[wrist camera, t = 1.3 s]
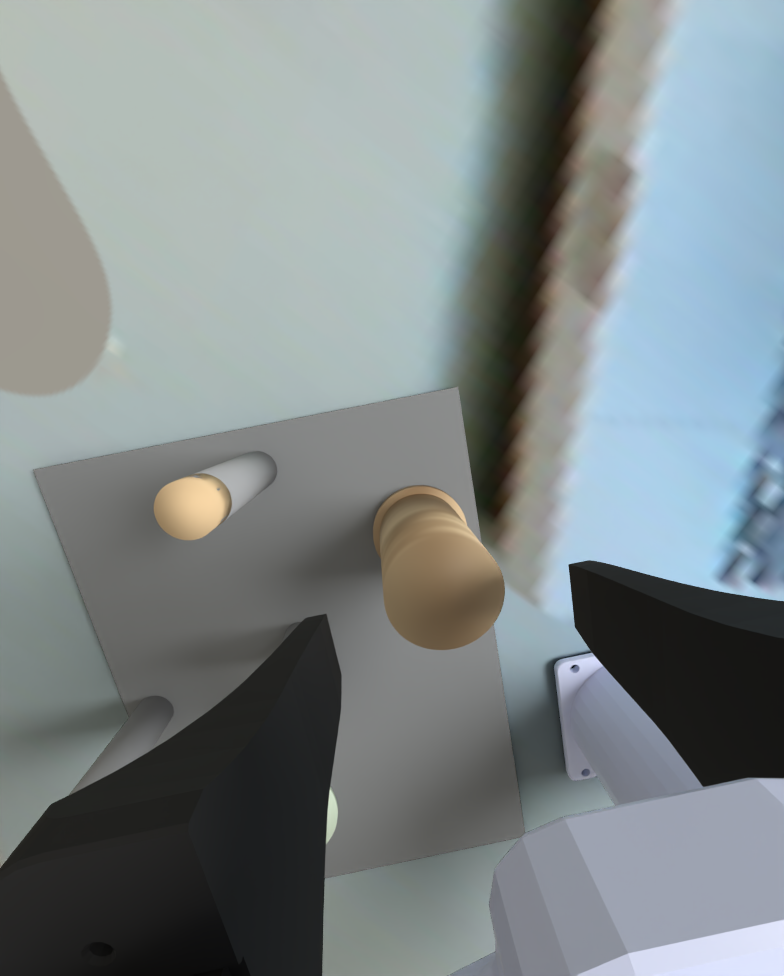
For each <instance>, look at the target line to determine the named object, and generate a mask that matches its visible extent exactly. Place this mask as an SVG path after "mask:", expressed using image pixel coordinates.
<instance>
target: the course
mask: <svg viewBox="0 0 784 976" xmlns="http://www.w3.org/2000/svg"><path fill="white" fill-rule="evenodd" d="M33 471H34V474H35V477H36V479H37V482H38V484H39V487H40V489H41V492H42V495H43V497H44V500H45V502H46V505H47V508H48V510H49V513H50V515H51V518H52V520H53V523H54V526H55V528H56V531H57V533H58V536H59V538H60V541H61V544H62V546H63V549H64V551H65V554H66V557H67V559H68V562H69V564H70V567H71V569H72V572H73V575H74V577H75V580H76V582H77V585H78V587H79V590H80V593H81V595H82V598H83V600H84V603H85V606H86V608H87V611H88V613H89V616H90V618H91V621H92V624H93V626H94V629H95V631H96V634H97V636H98V639H99V642H100V644H101V647H102V649H103V652H104V654H105V657H106V660H107V662H108V665H109V667H110V670H111V673H112V675H113V678H114V680H115V683H116V685H117V688H118V691H119V693H120V696H121V698H122V701H123V703H124V706H125V709H126V711H127V714H128V716H129V718H128V720H127V721H126V722H125V723H124V725H123V726H122V727H121V729H120V730H119V731H118V732H117V734H116V735H115V736H114V738H113V739H112V740H111V742H110V743H109V744H108V745H107V747H106V748H105V749H104V751H103V752H102V753H101V754H100V756H99V757H98V758H97V760H96V761H95V762H94V763H93V765H92V766H91V767H90V769H89V770H88V771H87V772H86V774H85V775H84V776H83V778H82V779H81V780H80V782H79V783H78V784H77V785H76V787H75V788H74V789H73V791H72V792H71V793H70V794H69V795H71V794H73V793H75V792H76V791H78V790H80V789H82V788H84V787H86V786H88V785H90V784H92V783H94V782H96V781H98V780H100V779H101V778H103V777H105V776H107V775H109V774H111V773H113V772H115V771H116V770H118V769H120V768H122V767H124V766H125V765H127V764H129V763H130V762H132V761H134V760H136V759H137V758H139V757H141V756H142V755H144V754H146V753H147V752H149V751H151V750H152V749H154V748H155V747H157V746H159V745H160V744H162V743H163V742H165V741H166V740H168V739H170V738H171V737H173V736H174V735H175V734H177V733H178V732H180V731H181V730H182V729H184V728H185V727H187V726H188V725H190V724H191V723H192V722H194V721H195V720H197V719H198V718H199V717H201V716H202V715H204V714H205V713H206V712H208V711H209V710H210V709H212V708H213V707H214V706H215V705H217V704H218V703H219V702H220V701H222V700H223V699H224V698H225V697H227V696H228V695H229V694H230V693H231V692H232V691H234V690H235V689H236V688H237V687H238V686H239V685H240V684H242V683H243V682H244V681H245V680H246V679H247V678H248V677H249V676H250V675H251V674H252V673H253V672H254V671H255V670H256V669H257V668H258V667H259V666H260V665H261V664H262V663H263V662H264V661H265V660H266V659H267V658H268V657H269V656H270V655H271V654H272V653H273V652H274V651H275V650H276V649H277V648H278V647H279V646H280V644H281V643H282V642H283V641H284V640H285V639H286V638H287V637H288V636H289V635H290V634H291V632H292V631H293V630H294V629H295V628H296V627H297V626H298V625H299V624H300V623H301V622H302V621H303V620H304V619H305V618H307V617H312V616H317V615H322V614H327V618H328V622H329V626H330V630H331V634H332V638H333V642H334V646H335V650H336V654H337V658H338V662H339V666H340V670H341V674H342V695H341V714H340V721H339V728H338V736H337V743H336V750H335V757H334V764H333V771H332V778H331V785H330V786H331V788H332V790H333V792H334V794H335V796H336V799H337V804H338V818H337V825H336V828H335V831H334V833H333V835H332V837H331V838H330V840H329V841H328V843H327V844H326V853H325V878H329V877H334V876H339V875H344V874H348V873H353V872H358V871H363V870H367V869H372V868H377V867H382V866H386V865H391V864H396V863H401V862H406V861H410V860H415V859H420V858H425V857H429V856H434V855H439V854H444V853H448V852H453V851H458V850H463V849H467V848H472V847H477V846H482V845H487V844H491V843H496V842H501V841H506V840H510V839H515V838H520V837H522V835H523V834H524V833H525V829H524V822H523V815H522V809H521V802H520V795H519V789H518V782H517V775H516V769H515V762H514V756H513V749H512V742H511V736H510V729H509V722H508V716H507V709H506V702H505V696H504V689H503V683H502V676H501V669H500V663H499V656H498V649H497V643H496V636H495V629H494V624H493V625H492V627H491V628H490V629H489V630H488V631H487V632H486V633H485V634H484V635H482V636H481V637H480V638H478V639H477V640H475V641H474V642H472V643H470V644H468V645H465V646H463V647H459V648H456V649H450V650H431V649H426V648H423V647H420V646H417V645H415V644H413V643H411V642H409V641H408V640H406V639H405V638H403V637H402V636H401V635H400V634H399V633H398V632H397V631H396V630H395V628H394V627H393V626H392V624H391V622H390V621H389V619H388V616H387V614H386V610H385V606H384V598H383V583H382V568H381V558H380V557H379V555H378V553H377V551H376V548H375V545H374V539H373V525H374V520H375V516H376V514H377V511H378V510H379V508H380V506H381V505H382V503H383V502H384V501H385V500H386V499H387V498H388V497H389V496H390V495H392V494H393V493H394V492H396V491H398V490H400V489H402V488H405V487H409V486H414V485H427V486H432V487H435V488H438V489H440V490H442V491H444V492H446V493H447V494H448V495H449V496H451V497H452V498H453V499H454V500H455V502H456V503H457V504H458V505H459V507H460V508H461V510H462V511H463V513H464V516H465V519H466V523H467V526H468V527H469V529H470V530H471V531H472V532H473V534H474V535H475V536H476V537H477V539H478V540H479V541H480V542H481V537H480V530H479V523H478V517H477V510H476V503H475V497H474V490H473V483H472V477H471V470H470V464H469V457H468V450H467V444H466V437H465V430H464V424H463V417H462V410H461V404H460V397H459V391H458V387H455V388H450V389H445V390H440V391H435V392H430V393H424V394H419V395H414V396H409V397H404V398H399V399H394V400H389V401H383V402H378V403H373V404H368V405H363V406H358V407H353V408H347V409H342V410H337V411H332V412H327V413H322V414H317V415H312V416H306V417H301V418H296V419H291V420H286V421H281V422H276V423H271V424H265V425H260V426H255V427H250V428H245V429H240V430H235V431H230V432H224V433H219V434H214V435H209V436H204V437H199V438H194V439H189V440H183V441H178V442H173V443H168V444H163V445H158V446H153V447H148V448H142V449H137V450H132V451H127V452H122V453H117V454H112V455H107V456H101V457H96V458H91V459H86V460H81V461H76V462H71V463H66V464H60V465H55V466H50V467H45V468H40V469H35V470H33ZM481 544H482V543H481Z"/></svg>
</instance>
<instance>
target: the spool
mask: <svg viewBox="0 0 784 976" xmlns="http://www.w3.org/2000/svg"><path fill="white" fill-rule="evenodd" d="M373 539H374V545H375V548H376V551H377V553H378V555H379V557H380V558H381V568H382V583H383V598H384V606H385V610H386V614H387V616H388V619H389V621H390V622H391V624H392V626H393V627H394V628H395V630H396V631H397V632H398V633H399V634H400V635H401V636H402V637H403V638H405V639H406V640H408V641H409V642H411V643H413V644H415V645H417V646H420V647H423V648H426V649H431V650H450V649H456V648H459V647H463V646H465V645H468V644H470V643H472V642H474V641H475V640H477V639H478V638H480V637H481V636H482V635H484V634H485V633H486V632H487V631H488V630H489V629H490V628H491V627H492V625H493V624H494V622H495V621H496V620H497V618H498V616H499V614H500V612H501V609H502V606H503V602H504V595H505V587H504V580H503V576H502V573H501V570H500V568H499V566H498V564H497V563H496V561H495V560H494V559H493V557H492V556H491V555H490V554H489V552H488V551H487V550H486V549H485V547H484V546H483V545H482V544H481V542H480V541H479V540H478V539H477V537H476V536H475V535H474V534H473V532H472V531H471V530H470V529H469V527H468V526H467V523H466V519H465V516H464V513H463V511H462V510H461V508H460V507H459V505H458V504H457V503H456V502H455V500H454V499H453V498H452V497H451V496H449V495H448V494H447V493H446V492H444V491H442V490H440V489H438V488H435V487H432V486H427V485H414V486H409V487H405V488H402V489H400V490H398V491H396V492H394V493H393V494H392V495H390V496H389V497H388V498H387V499H386V500H385V501H384V502H383V503H382V505H381V506H380V508H379V510H378V511H377V514H376V516H375V520H374V525H373Z"/></svg>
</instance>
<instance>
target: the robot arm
mask: <svg viewBox="0 0 784 976" xmlns="http://www.w3.org/2000/svg"><path fill="white" fill-rule="evenodd" d="M569 572H570V582H571V592H572V602H573V612H574V622H575V628H576V629H577V631H578V632H579V634H580V635H581V637H582V638H583V640H584V641H585V643H586V644H587V646H588V647H589V649H590V650H591V652H592V653H588V654H584V655H579V656H574V657H569V658H564V659H561V660H558V661H557V662H556V664H555V666H554V671H555V680H556V688H557V696H558V705H559V713H560V722H561V730H562V739H563V747H564V756H565V764H566V771H567V774H568V776H569V778H570V779H571V780H574V781H579V780H583V779H588V778H593V777H598V779H599V780H600V782H601V784H602V785H603V787H604V789H605V790H606V792H607V793H608V795H609V797H610V798H611V800H612V802H613V803H614V805H615V806H612V807H607V808H602V809H598V810H593V811H588V812H583V813H579V814H574V815H569V816H564V817H561V818H558V819H556V820H554V821H552V822H549V823H547V824H545V825H542V826H540V827H538V828H536V829H533V830H531V831H529V832H527V833H524V834H523V835H522V837H521V838H520V839H519V840H518V841H517V842H516V843H515V845H514V846H513V847H512V848H511V849H510V850H509V851H508V853H507V854H506V855H505V856H504V857H503V858H502V859H501V861H500V862H499V863H498V865H497V866H496V868H495V870H494V876H493V882H492V888H491V895H490V901H489V908H490V914H491V919H492V924H493V930H494V935H495V952H493V953H491V954H489V955H487V956H485V957H483V958H481V959H480V960H478V961H476V962H474V963H472V964H470V965H468V966H466V967H464V968H462V969H460V970H458V971H456V972H454V973H452V974H450V975H448V976H784V601H776V600H768V599H761V598H754V597H748V596H742V595H736V594H730V593H724V592H719V591H714V590H709V589H704V588H700V587H695V586H691V585H687V584H682V583H678V582H674V581H670V580H666V579H662V578H658V577H655V576H651V575H647V574H643V573H640V572H636V571H632V570H629V569H625V568H621V567H618V566H614V565H610V564H606V563H602V562H597V561H590V560H589V561H584V562H579V563H574V564H569ZM573 665H576V666H575V667H574V668H572V669H571V667H572V666H573ZM341 695H342V674H341V670H340V666H339V662H338V658H337V654H336V650H335V646H334V642H333V638H332V634H331V630H330V626H329V622H328V618H327V614H322V615H317V616H312V617H307V618H305V619H304V620H303V621H302V622H301V623H300V624H299V625H298V626H297V627H296V628H295V629H294V630H293V631H292V632H291V634H290V635H289V636H288V637H287V638H286V639H285V640H284V641H283V642H282V643H281V644H280V646H279V647H278V648H277V649H276V650H275V651H274V652H273V653H272V654H271V655H270V656H269V657H268V658H267V659H266V660H265V661H264V662H263V663H262V664H261V665H260V666H259V667H258V668H257V669H256V670H255V671H254V672H253V673H252V674H251V675H250V676H249V677H248V678H247V679H246V680H245V681H244V682H243V683H242V684H240V685H239V686H238V687H237V688H236V689H235V690H234V691H232V692H231V693H230V694H229V695H228V696H227V697H225V698H224V699H223V700H222V701H220V702H219V703H218V704H217V705H215V706H214V707H213V708H212V709H210V710H209V711H208V712H206V713H205V714H204V715H202V716H201V717H199V718H198V719H197V720H195V721H194V722H192V723H191V724H190V725H188V726H187V727H185V728H184V729H182V730H181V731H180V732H178V733H177V734H175V735H174V736H173V737H171V738H170V739H168V740H166V741H165V742H163V743H162V744H160V745H159V746H157V747H155V748H154V749H152V750H151V751H149V752H147V753H146V754H144V755H142V756H141V757H139V758H137V759H136V760H134V761H132V762H130V763H129V764H127V765H125V766H124V767H122V768H120V769H118V770H116V771H115V772H113V773H111V774H109V775H107V776H105V777H103V778H101V779H100V780H98V781H96V782H94V783H92V784H90V785H88V786H86V787H84V788H82V789H80V790H78V791H76V792H75V793H73V794H71V795H69V796H67V797H65V798H63V799H61V800H59V801H57V802H55V803H53V804H51V805H50V806H49V807H48V809H47V810H46V811H45V812H44V814H43V815H42V816H41V817H40V819H39V820H38V821H37V822H36V824H35V825H34V826H33V827H32V829H31V830H30V831H29V833H28V834H27V835H26V836H25V838H24V839H23V840H22V841H21V843H20V844H19V845H18V846H17V848H16V849H15V850H14V851H13V853H12V854H11V855H10V856H9V858H8V859H7V860H6V861H5V863H4V864H3V865H2V867H1V868H0V976H322V954H323V908H324V880H325V853H326V833H327V813H328V802H329V792H330V785H331V778H332V771H333V764H334V757H335V750H336V743H337V736H338V728H339V721H340V714H341Z"/></svg>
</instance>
